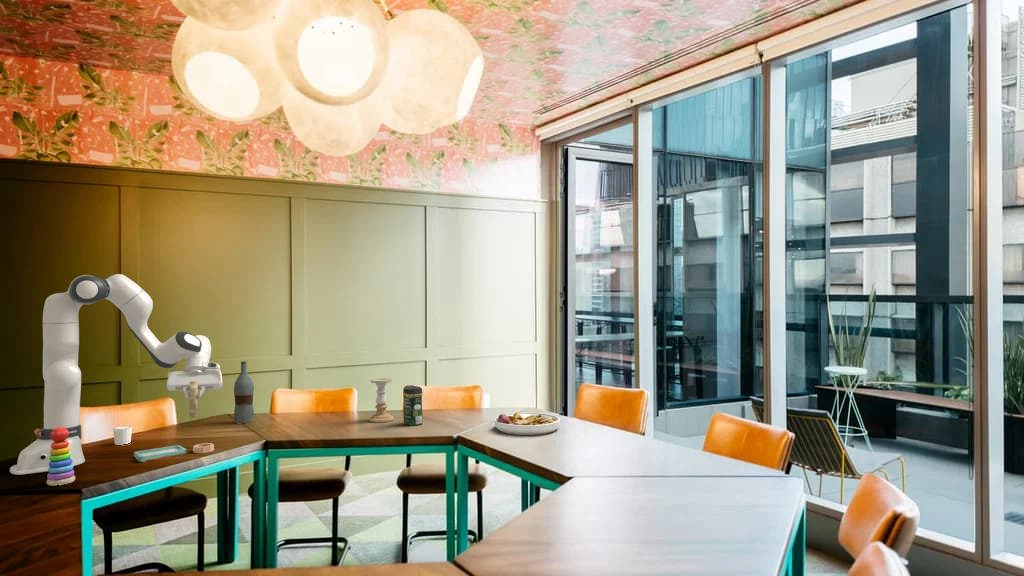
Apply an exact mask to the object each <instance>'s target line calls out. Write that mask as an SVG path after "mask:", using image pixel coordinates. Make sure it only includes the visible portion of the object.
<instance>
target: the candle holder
mask: <svg viewBox="0 0 1024 576" xmlns="http://www.w3.org/2000/svg"><path fill="white" fill-rule="evenodd" d="M392 382H393V380H392V378H373V379H370V383H371V384H375V386H376V387H377V390H376V391H375V392H376V394H377V395H376V399H375V403H376V405H375V406H374V409H376V413H375V414H373V415H372V416H370V417H369V418H368V422H369V423H375V424H376V423H378V424H381V423H382V424H384V423H389V422H393V421H394V420H395V418H394V416H393V415H391V414H389V413H387V408H388V405H387V402H388V400H387V397H386V393H387V390H386V389H385V387H386V386H387V384H389V383H392Z"/></svg>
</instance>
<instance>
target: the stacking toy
mask: <svg viewBox="0 0 1024 576" xmlns="http://www.w3.org/2000/svg"><path fill="white" fill-rule="evenodd" d="M68 435H69V432H68V430H67V429H66V428H64V427H58V428H55V429H54V430H53V431H52V432H51V435H50V437H51V439H52V440H53V441H54V442H53V443H52V444H51V448H53V449H51V450H50V454H51V455H50V457H49V459H50V460H51V461H50V462H49V466H50V467H49V468H48V471H47V473H48V474H47V475H46V476H47V477H46V478H47V480H46V484H47V485H48V486H51V487H56V486H57V485H59V486H64V484H65V485H68V483H69V484H71V483H74V482H75V480H76V476H75V470H74V466H73V464H71V463H72V459H71V458H70V457H71V454H70V453H69V451H70V448H69V447H67V446H68V445H69V442H68V441H65V440H66V439H67V438H68Z"/></svg>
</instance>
